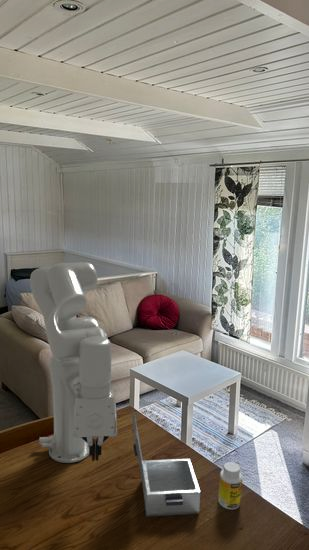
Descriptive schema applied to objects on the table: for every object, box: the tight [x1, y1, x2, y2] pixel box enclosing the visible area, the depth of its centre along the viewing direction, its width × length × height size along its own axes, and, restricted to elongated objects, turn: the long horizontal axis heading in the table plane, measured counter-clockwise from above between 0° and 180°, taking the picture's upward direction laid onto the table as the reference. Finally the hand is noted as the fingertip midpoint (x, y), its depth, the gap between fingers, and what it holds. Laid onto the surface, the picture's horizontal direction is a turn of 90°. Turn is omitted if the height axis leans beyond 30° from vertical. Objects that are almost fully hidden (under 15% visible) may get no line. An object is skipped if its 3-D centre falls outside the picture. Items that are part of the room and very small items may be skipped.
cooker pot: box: [142, 458, 201, 518], centre depth 106 cm, size 13×16×6 cm
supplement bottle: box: [217, 461, 243, 510], centre depth 104 cm, size 6×6×10 cm
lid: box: [131, 410, 147, 495], centre depth 103 cm, size 15×13×2 cm
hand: (95, 457), depth 102 cm, fingers closed
